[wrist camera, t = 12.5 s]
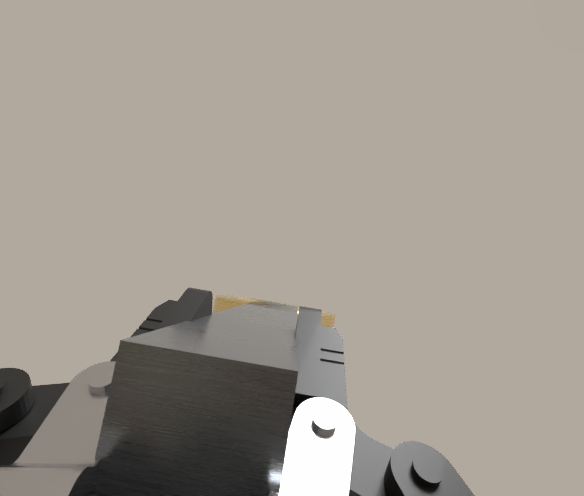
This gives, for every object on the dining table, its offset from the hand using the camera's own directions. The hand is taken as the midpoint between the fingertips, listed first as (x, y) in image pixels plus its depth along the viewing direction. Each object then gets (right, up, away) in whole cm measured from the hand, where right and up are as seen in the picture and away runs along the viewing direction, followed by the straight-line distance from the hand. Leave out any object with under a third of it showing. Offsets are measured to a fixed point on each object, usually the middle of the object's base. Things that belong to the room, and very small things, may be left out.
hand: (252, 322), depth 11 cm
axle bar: (0, -3, +4) cm, 5 cm away
